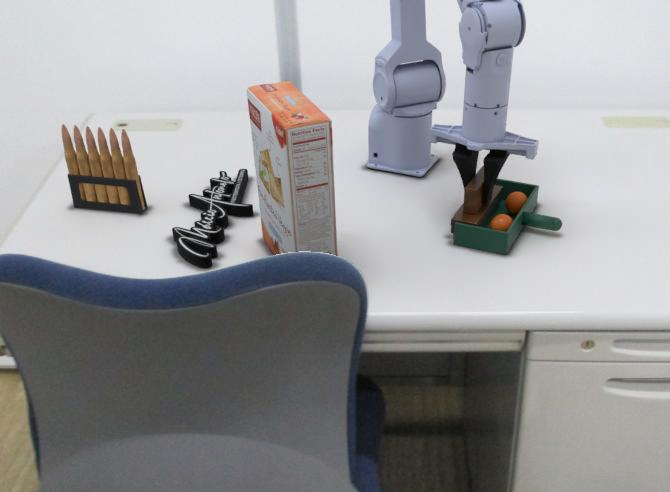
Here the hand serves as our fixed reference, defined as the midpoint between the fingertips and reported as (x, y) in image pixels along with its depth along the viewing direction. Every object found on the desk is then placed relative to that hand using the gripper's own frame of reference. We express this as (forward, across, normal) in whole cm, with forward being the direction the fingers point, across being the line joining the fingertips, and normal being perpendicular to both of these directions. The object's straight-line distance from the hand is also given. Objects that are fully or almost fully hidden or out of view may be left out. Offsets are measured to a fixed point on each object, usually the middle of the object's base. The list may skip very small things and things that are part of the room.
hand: (478, 199), depth 116 cm
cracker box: (+3, -18, -20) cm, 27 cm away
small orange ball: (+2, +5, -4) cm, 6 cm away
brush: (+3, 0, 0) cm, 3 cm away
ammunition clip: (+3, -50, -17) cm, 53 cm away
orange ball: (+2, +5, +4) cm, 6 cm away
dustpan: (+3, +6, 0) cm, 7 cm away
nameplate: (+3, -34, -14) cm, 37 cm away
